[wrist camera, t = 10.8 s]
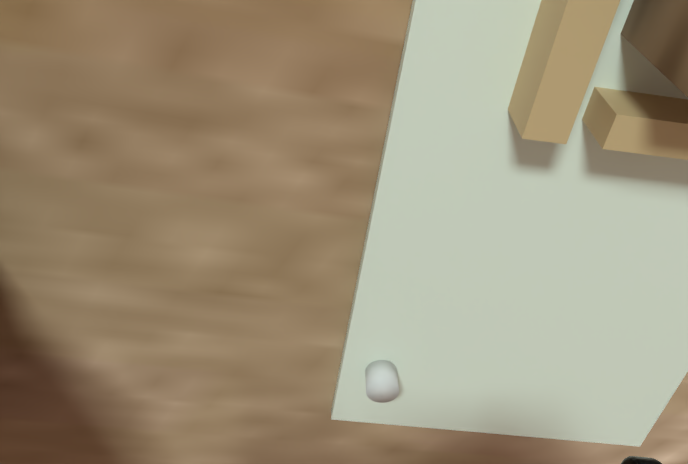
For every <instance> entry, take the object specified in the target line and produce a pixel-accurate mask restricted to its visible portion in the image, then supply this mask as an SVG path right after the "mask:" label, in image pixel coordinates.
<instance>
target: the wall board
mask: <svg viewBox="0 0 688 464" xmlns="http://www.w3.org/2000/svg"><path fill="white" fill-rule="evenodd" d="M633 1H634V0H413V2H412V7H411V12H410V17H409V22H408V27H407V32H406V37H405V42H404V47H403V52H402V57H401V62H400V67H399V72H398V77H397V82H396V87H395V92H394V97H393V102H392V107H391V112H390V117H389V122H388V128H387V133H386V138H385V143H384V148H383V153H382V158H381V163H380V168H379V173H378V178H377V183H376V188H375V193H374V198H373V203H372V208H371V213H370V218H369V223H368V228H367V233H366V238H365V243H364V248H363V253H362V258H361V263H360V268H359V273H358V278H357V283H356V288H355V293H354V298H353V303H352V308H351V313H350V318H349V323H348V328H347V333H346V338H345V343H344V348H343V353H342V358H341V363H340V368H339V373H338V379H337V384H336V389H335V394H334V399H333V404H332V409H331V419H333V420H344V421H356V422H367V423H378V424H390V425H401V426H412V427H424V428H435V429H447V430H458V431H469V432H481V433H492V434H503V435H515V436H526V437H538V438H549V439H560V440H572V441H583V442H594V443H606V444H617V445H629V446H641V444H642V442H643V441H644V439H645V438H646V436H647V435H648V433H649V431H650V430H651V428H652V427H653V425H654V424H655V422H656V420H657V419H658V417H659V416H660V414H661V413H662V411H663V409H664V408H665V406H666V405H667V403H668V402H669V400H670V398H671V397H672V395H673V394H674V392H675V391H676V389H677V387H678V386H679V384H680V383H681V381H682V380H683V378H684V376H685V375H686V373H687V372H688V97H687V96H686V95H685V94H684V93H683V92H681V91H680V90H679V89H678V88H677V87H676V86H675V85H674V84H673V83H672V82H671V81H670V80H669V79H668V78H667V77H666V76H665V75H663V74H662V73H661V72H660V71H659V70H658V69H657V68H656V67H655V66H654V65H653V64H652V63H651V62H650V61H649V60H648V59H646V58H645V57H644V56H643V55H642V54H641V53H640V52H639V51H638V50H637V49H636V48H635V47H634V46H633V45H632V44H631V43H630V42H628V41H627V40H626V39H625V38H624V37H623V36H622V35H621V31H622V29H623V26H624V24H625V21H626V19H627V16H628V14H629V11H630V9H631V6H632V4H633Z"/></svg>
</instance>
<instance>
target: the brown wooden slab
mask: <svg viewBox="0 0 688 464" xmlns="http://www.w3.org/2000/svg"><path fill="white" fill-rule="evenodd" d="M621 35H622V36H623V37H624V38H625V39H626V40H627V41H628V42H630V43H631V44H632V45H633V46H634V47H635V48H636V49H637V50H638V51H639V52H640V53H641V54H642V55H643V56H644V57H645V58H646V59H648V60H649V61H650V62H651V63H652V64H653V65H654V66H655V67H656V68H657V69H658V70H659V71H660V72H661V73H662V74H663V75H665V76H666V77H667V78H668V79H669V80H670V81H671V82H672V83H673V84H674V85H675V86H676V87H677V88H678V89H679V90H680V91H681V92H683V93H684V94H685V95H686V96H687V97H688V0H634V1H633V4H632V6H631V9H630V11H629V14H628V16H627V19H626V21H625V24H624V26H623V29H622V31H621Z"/></svg>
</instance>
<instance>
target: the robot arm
mask: <svg viewBox="0 0 688 464" xmlns="http://www.w3.org/2000/svg"><path fill="white" fill-rule="evenodd" d="M621 464H662V463H660V462H659V461H658V460H656V459H653V458H647V457H635V456H629V457H627V458H625V459H624V460H623V461H622V463H621Z"/></svg>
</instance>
